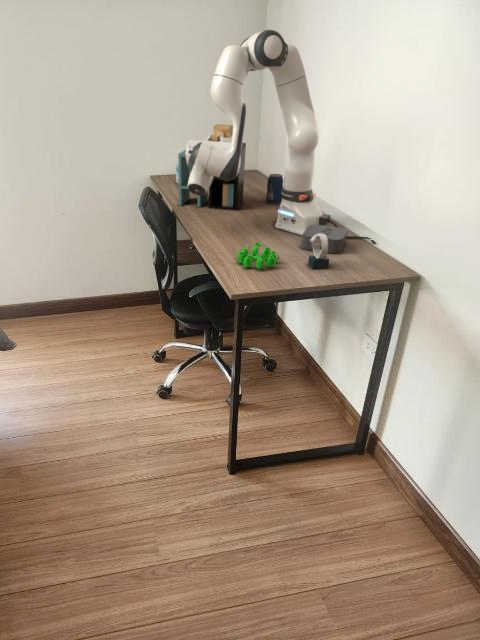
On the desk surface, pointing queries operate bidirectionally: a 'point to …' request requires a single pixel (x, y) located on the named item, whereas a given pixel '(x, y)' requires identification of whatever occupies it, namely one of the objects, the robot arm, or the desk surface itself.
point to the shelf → (228, 189)
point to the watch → (319, 252)
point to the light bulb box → (177, 172)
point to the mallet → (222, 131)
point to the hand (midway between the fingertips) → (216, 136)
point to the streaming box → (333, 234)
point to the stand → (186, 182)
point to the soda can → (274, 188)
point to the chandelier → (257, 257)
